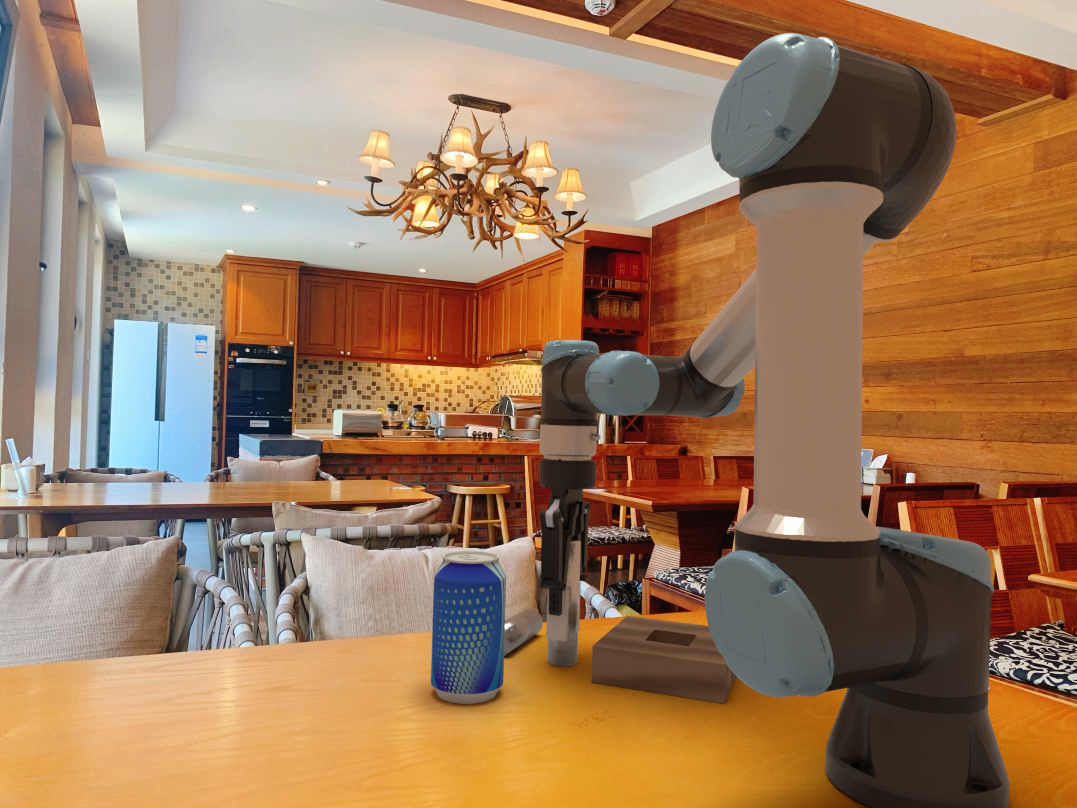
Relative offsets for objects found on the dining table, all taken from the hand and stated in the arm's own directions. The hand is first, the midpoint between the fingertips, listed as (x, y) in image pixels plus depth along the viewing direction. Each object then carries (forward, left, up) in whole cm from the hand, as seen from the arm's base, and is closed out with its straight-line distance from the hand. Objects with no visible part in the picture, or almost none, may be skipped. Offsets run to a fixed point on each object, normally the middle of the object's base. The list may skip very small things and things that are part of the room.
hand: (563, 634), depth 106 cm
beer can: (-16, +6, -4) cm, 18 cm away
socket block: (+2, -14, -4) cm, 15 cm away
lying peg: (+4, +11, -3) cm, 12 cm away
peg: (0, 0, -4) cm, 4 cm away
